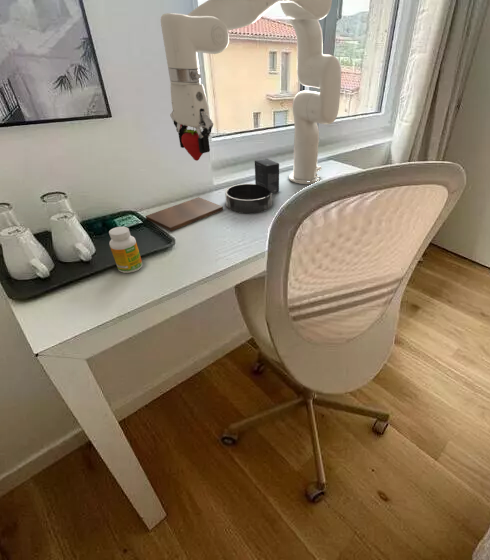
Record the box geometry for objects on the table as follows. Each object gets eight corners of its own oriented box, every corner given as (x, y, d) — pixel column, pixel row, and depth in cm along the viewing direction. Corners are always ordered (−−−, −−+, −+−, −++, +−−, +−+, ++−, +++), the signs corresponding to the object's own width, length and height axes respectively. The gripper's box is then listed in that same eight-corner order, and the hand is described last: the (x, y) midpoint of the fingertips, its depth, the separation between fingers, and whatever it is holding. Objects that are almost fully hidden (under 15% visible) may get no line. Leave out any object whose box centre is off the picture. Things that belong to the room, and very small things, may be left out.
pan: (248, 192, 117) (247, 180, 115) (280, 203, 110) (280, 191, 108) (216, 205, 107) (215, 192, 105) (250, 218, 100) (249, 204, 98)
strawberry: (193, 155, 97) (188, 119, 91) (213, 160, 94) (209, 123, 88) (179, 160, 92) (173, 122, 86) (199, 165, 90) (194, 126, 84)
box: (279, 192, 119) (279, 163, 113) (266, 195, 116) (266, 165, 110) (267, 185, 124) (267, 157, 118) (255, 188, 121) (254, 160, 115)
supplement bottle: (134, 275, 73) (122, 237, 68) (113, 271, 74) (99, 234, 68) (147, 262, 78) (137, 226, 72) (127, 259, 78) (115, 223, 73)
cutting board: (199, 200, 110) (198, 197, 109) (223, 210, 104) (223, 206, 104) (146, 219, 96) (145, 215, 96) (170, 231, 91) (170, 227, 90)
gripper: (220, 79, 80) (226, 153, 90) (175, 73, 87) (186, 142, 98) (195, 80, 75) (205, 158, 85) (151, 74, 82) (165, 146, 93)
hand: (195, 149), depth 91 cm, fingers closed on strawberry, 7 cm apart
